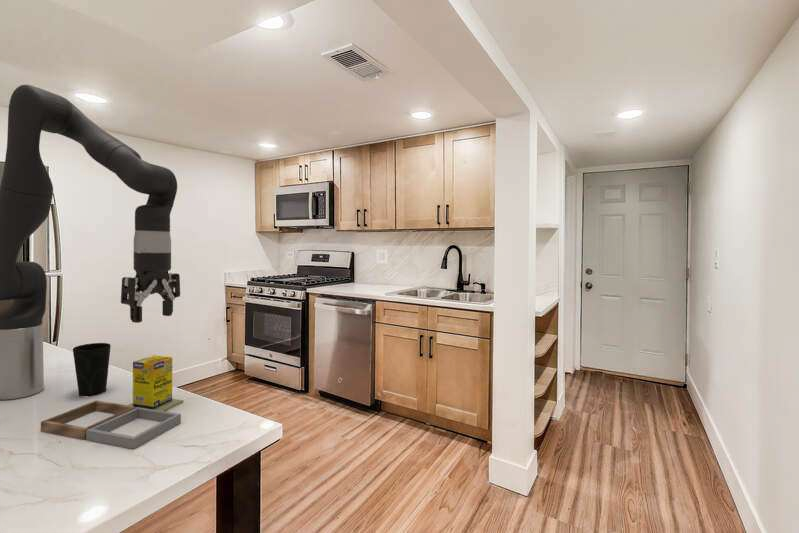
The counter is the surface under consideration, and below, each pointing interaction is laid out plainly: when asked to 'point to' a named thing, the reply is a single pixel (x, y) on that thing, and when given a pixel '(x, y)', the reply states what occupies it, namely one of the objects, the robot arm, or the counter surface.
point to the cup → (92, 368)
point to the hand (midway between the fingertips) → (152, 318)
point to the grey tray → (132, 442)
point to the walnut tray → (57, 422)
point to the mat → (166, 405)
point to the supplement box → (152, 381)
